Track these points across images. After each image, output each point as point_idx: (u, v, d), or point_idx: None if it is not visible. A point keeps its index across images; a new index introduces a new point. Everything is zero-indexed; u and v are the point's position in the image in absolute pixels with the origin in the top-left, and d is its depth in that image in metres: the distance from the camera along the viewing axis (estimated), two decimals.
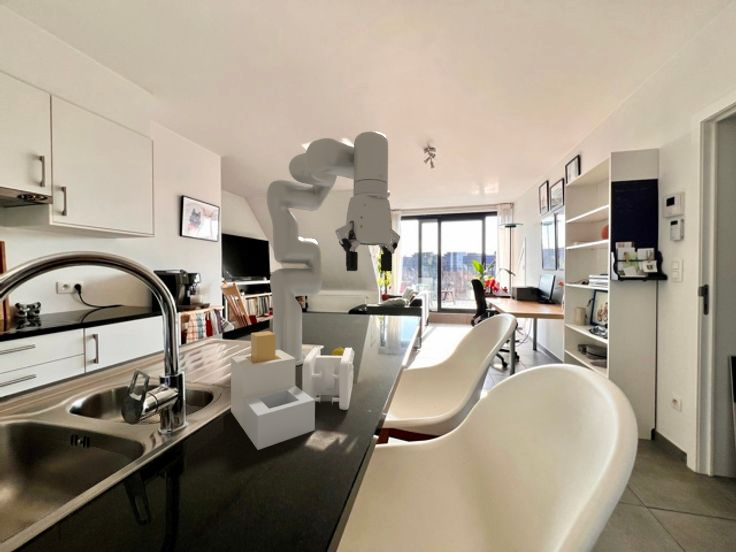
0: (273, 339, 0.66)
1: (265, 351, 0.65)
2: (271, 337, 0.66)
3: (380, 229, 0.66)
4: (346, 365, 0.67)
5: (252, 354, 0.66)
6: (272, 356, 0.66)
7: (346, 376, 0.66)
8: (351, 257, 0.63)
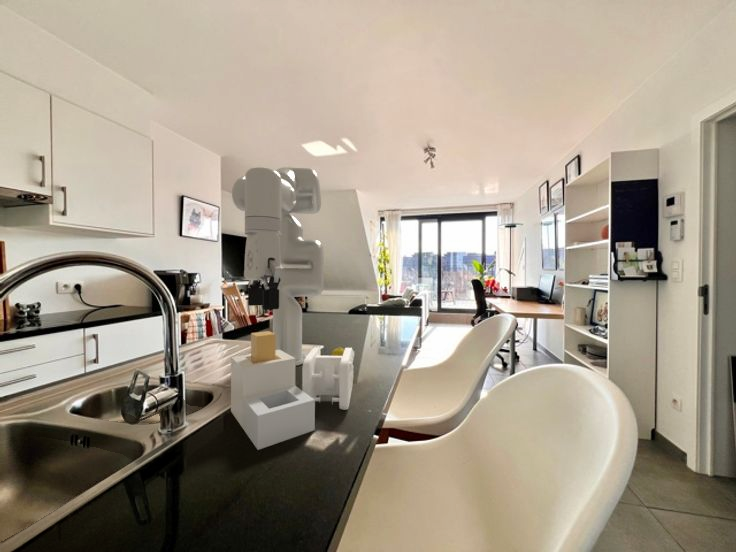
0: (273, 339, 0.66)
1: (265, 351, 0.65)
2: (271, 337, 0.66)
3: None
4: (346, 365, 0.67)
5: (252, 354, 0.66)
6: (272, 356, 0.66)
7: (346, 376, 0.66)
8: None
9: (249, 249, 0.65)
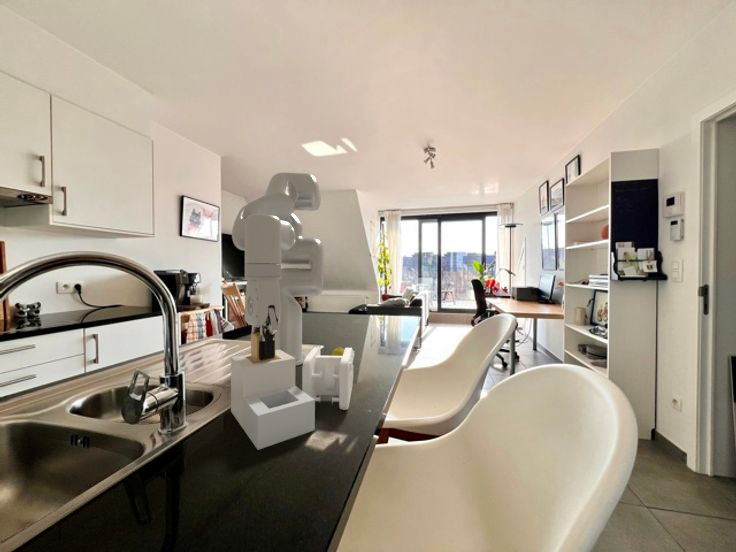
0: None
1: None
2: None
3: None
4: (346, 365, 0.67)
5: (252, 354, 0.66)
6: None
7: (346, 376, 0.66)
8: None
9: (249, 294, 0.65)
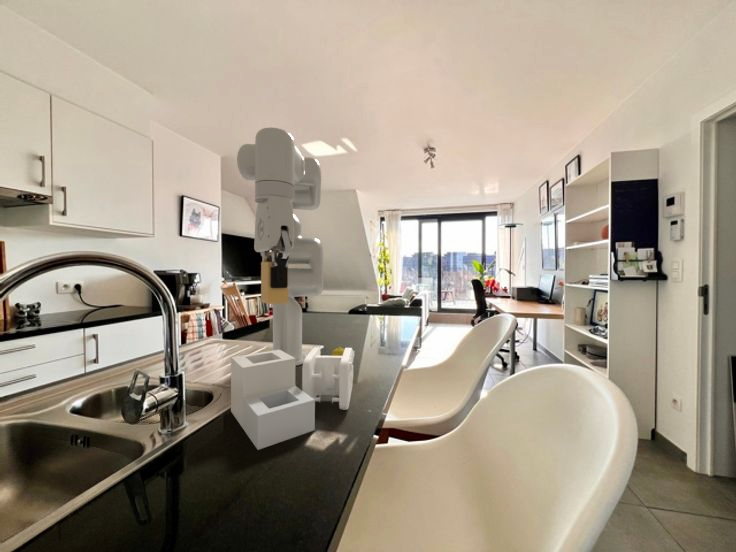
0: None
1: None
2: None
3: None
4: (346, 365, 0.67)
5: (263, 284, 0.60)
6: None
7: (346, 376, 0.66)
8: None
9: (260, 217, 0.59)
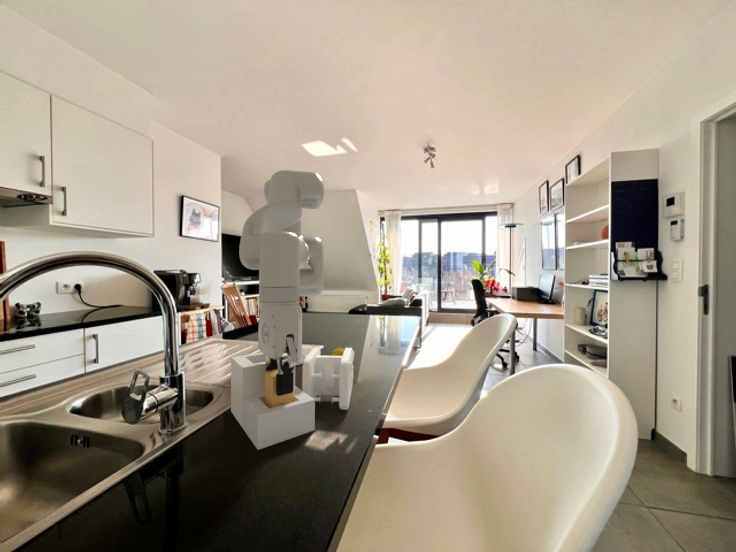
0: None
1: None
2: None
3: None
4: (346, 365, 0.67)
5: (267, 396, 0.59)
6: (289, 398, 0.59)
7: (346, 376, 0.66)
8: None
9: (264, 321, 0.58)
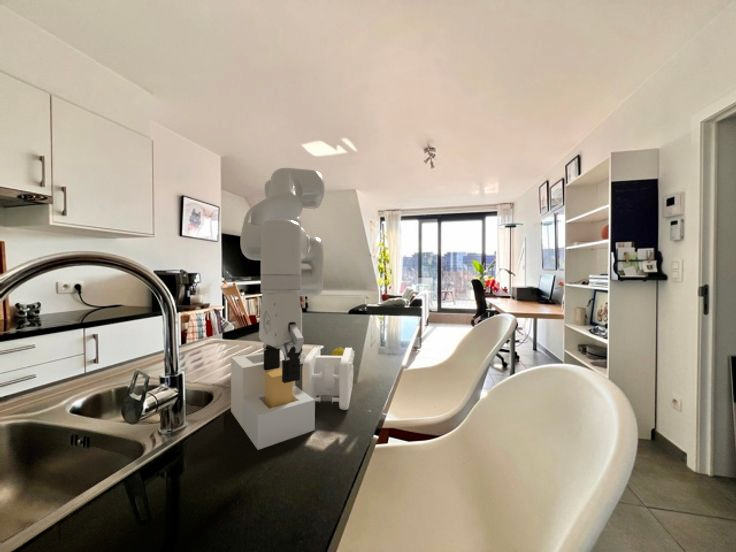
0: None
1: (281, 393, 0.58)
2: None
3: None
4: (346, 365, 0.67)
5: (267, 396, 0.59)
6: (289, 398, 0.59)
7: (346, 376, 0.66)
8: None
9: (266, 310, 0.57)
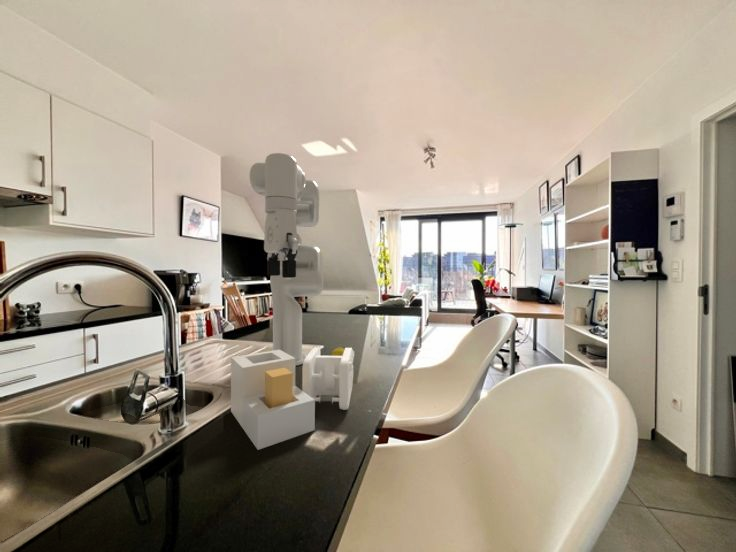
0: (289, 379, 0.59)
1: (281, 393, 0.58)
2: (288, 377, 0.59)
3: None
4: (346, 365, 0.67)
5: (267, 396, 0.59)
6: (289, 398, 0.59)
7: (346, 376, 0.66)
8: None
9: (269, 225, 0.74)
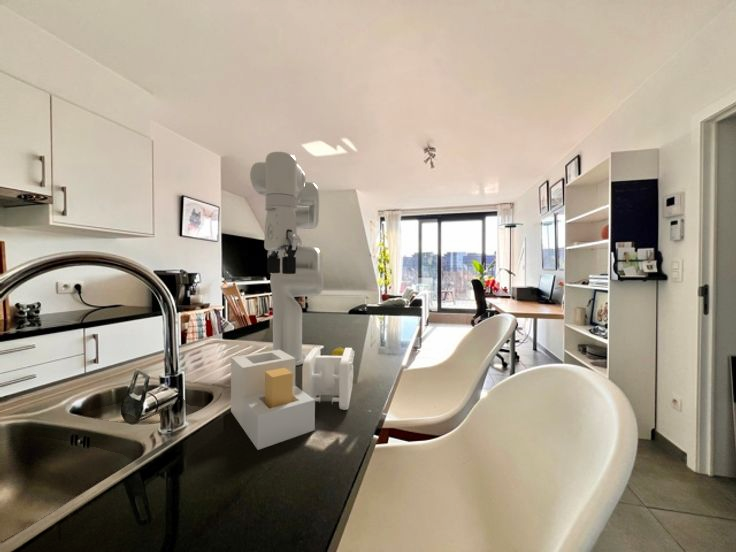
0: (289, 379, 0.59)
1: (281, 393, 0.58)
2: (288, 377, 0.59)
3: None
4: (346, 365, 0.67)
5: (267, 396, 0.59)
6: (289, 398, 0.59)
7: (346, 376, 0.66)
8: None
9: (269, 223, 0.75)
